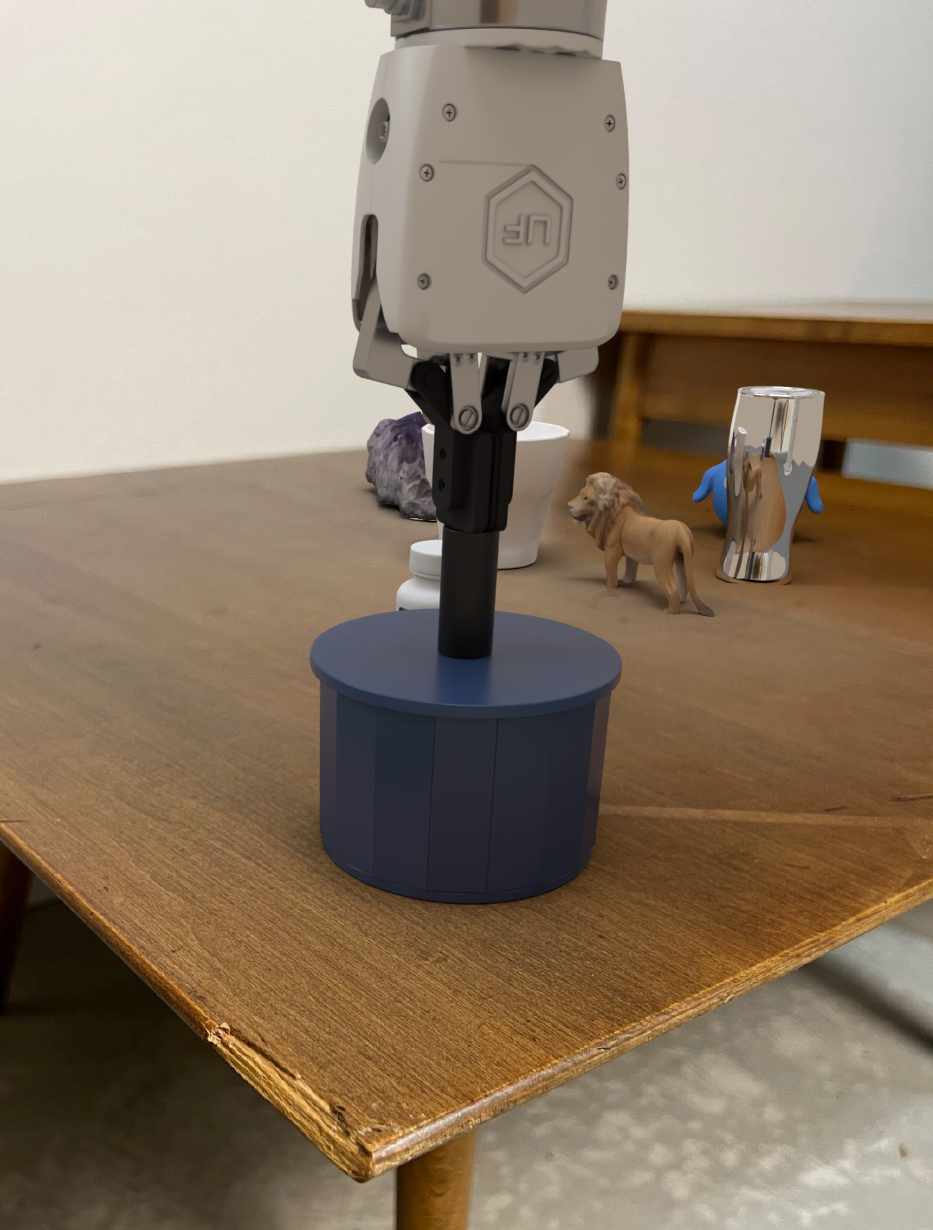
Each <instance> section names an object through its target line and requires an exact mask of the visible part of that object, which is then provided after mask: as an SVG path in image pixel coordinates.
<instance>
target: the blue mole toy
mask: <svg viewBox="0 0 933 1230" xmlns="http://www.w3.org/2000/svg"><path fill="white" fill-rule="evenodd" d="M711 492H712V507H713V509H714V512H715V514H716V516H717V518H718V519H719V521H720V522H721V523H722V524H723V525H724V526H725V527H727V491H726V459H725V460H723V461H722V462H721V463H719V464H717V465H714V466H712V467H710V468H709V469H707V470H706V471H705V473H704V474H703V476H702V479H701V482H700V485H699V486H698V488H697V489H696V490H695V492H693V494H692V501H693V502H694V503H701V502H703V501H704V500H706V498H707V497H708V496H710V493H711ZM804 502H805V503H806V506H807V508H808V510H809V511H810V512H811V513H813V514H814V515H819V514H821V512H823V510H824V504H823V502H822V500H821V497H820V495H819V484H818V481H817V480H816V478H815V477H814V476H812V479H811V482H810V485H809V488H808V491H807V494H806V497H805V500H804ZM803 508H804V504H803V505H802V508H801V511H800V513H801V512H802V511H803Z"/></svg>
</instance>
